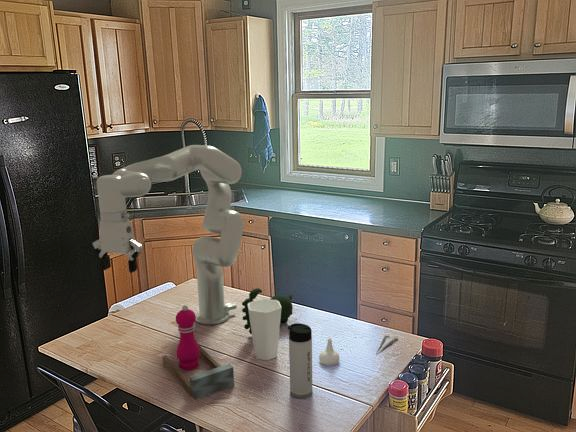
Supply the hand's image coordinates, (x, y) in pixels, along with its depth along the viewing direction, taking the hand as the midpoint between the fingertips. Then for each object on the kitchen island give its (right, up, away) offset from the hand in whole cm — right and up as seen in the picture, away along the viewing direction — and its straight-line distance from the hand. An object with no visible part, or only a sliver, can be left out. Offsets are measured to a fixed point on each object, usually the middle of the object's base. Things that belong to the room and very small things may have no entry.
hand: (119, 270), depth 158 cm
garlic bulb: (+65, -29, +2) cm, 71 cm away
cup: (+45, -28, +6) cm, 53 cm away
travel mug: (+56, -33, -15) cm, 66 cm away
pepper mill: (+21, -30, +1) cm, 37 cm away
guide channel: (+25, -31, -4) cm, 40 cm away
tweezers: (+83, -27, +10) cm, 88 cm away
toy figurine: (+46, -24, +25) cm, 57 cm away
